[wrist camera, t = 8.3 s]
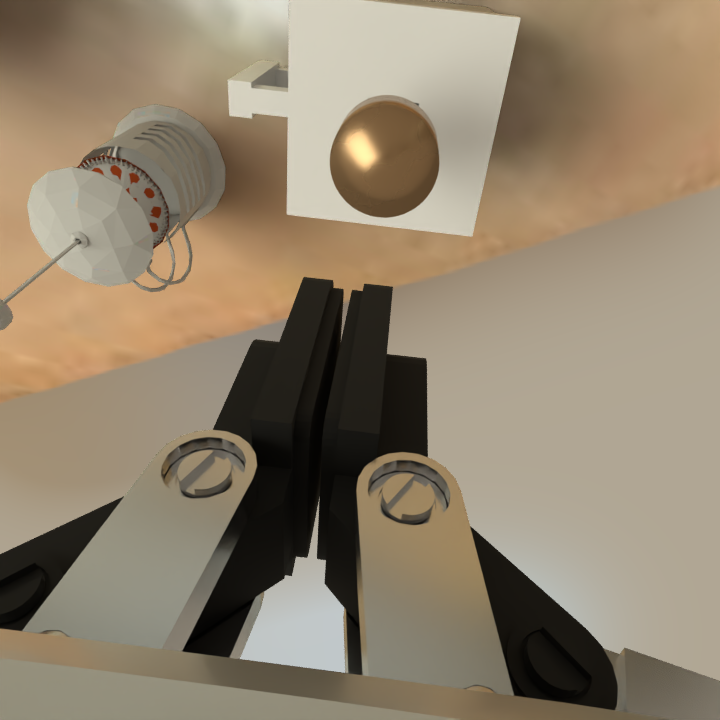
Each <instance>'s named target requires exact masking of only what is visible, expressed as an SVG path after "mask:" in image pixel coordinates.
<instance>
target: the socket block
mask: <svg viewBox="0 0 720 720" xmlns="http://www.w3.org/2000/svg"><path fill="white" fill-rule="evenodd" d="M520 19H521V18H520V17H518V16H513V15H504V14H497V13H495V12H494V11H492V10H491V9H489V8H488V7H482V6H473V5H464V4H455V3H446V2H437V1H428V0H289V56H288V68H285V67H279V62H274V61H265V60H259V61H257V62H256V63H254V64H253V65H251V66H249V67H248V68H246V69H244V70H243V71H241V72H239V73H238V74H236V75H235V76H233V77H231V78H230V79H228V97H229V116H235V117H244V118H253V117H254V116H255V115H256V114H263V115H272V116H281V117H288V147H287V215H294V216H302V217H311V218H319V219H328V220H336V221H345V222H353V223H361V224H370V225H378V226H387V227H395V228H404V229H412V230H421V231H429V232H437V233H446V234H454V235H463V236H471V237H472V235H473V231H474V226H475V222H476V217H477V213H478V208H479V204H480V199H481V195H482V190H483V186H484V181H485V177H486V172H487V168H488V163H489V159H490V154H491V150H492V145H493V141H494V136H495V132H496V127H497V123H498V118H499V114H500V109H501V105H502V100H503V96H504V91H505V87H506V82H507V78H508V73H509V69H510V64H511V60H512V55H513V51H514V46H515V42H516V37H517V33H518V28H519V24H520ZM379 95H395V96H400V97H403V98H406V99H408V100H410V101H412V102H414V103H415V104H416V105H418V106H419V107H420V108H421V109H422V110H423V111H424V112H425V113H426V114H427V115H428V117H429V118H430V120H431V122H432V124H433V126H434V128H435V131H436V135H437V141H438V149H439V172H438V176H437V180H436V182H435V185H434V187H433V189H432V191H431V192H430V194H429V195H428V197H427V198H426V199H425V200H424V201H423V202H422V203H421V204H420V205H419V206H417V207H416V208H415V209H413V210H411V211H410V212H407V213H405V214H403V215H400V216H395V217H388V218H381V217H373V216H369V215H366V214H364V213H362V212H359V211H358V210H356V209H354V208H353V207H352V206H350V205H349V204H348V203H347V202H346V201H345V200H344V199H343V198H342V196H341V195H340V194H339V192H338V190H337V189H336V187H335V185H334V182H333V180H332V176H331V171H330V152H331V148H332V144H333V141H334V139H335V136H336V134H337V132H338V130H339V128H340V126H341V124H342V122H343V120H344V119H345V117H346V116H347V115H348V113H349V112H350V111H351V110H352V109H353V108H354V107H355V106H357V105H358V104H359V103H361V102H363V101H364V100H366V99H369V98H371V97H375V96H379Z"/></svg>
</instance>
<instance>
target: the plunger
mask: <svg viewBox="0 0 720 720" xmlns="http://www.w3.org/2000/svg"><path fill="white" fill-rule="evenodd" d="M330 171H331V176H332V180H333V182H334V185H335V187H336V189H337V190H338V192H339V194H340V195H341V196H342V198H343V199H344V200H345V201H346V202H347V203H348V204H349V205H350V206H352V207H353V208H354V209H356V210H358V211H359V212H362V213H364V214H366V215H369V216H373V217H381V218H388V217H395V216H400V215H403V214H405V213H407V212H410V211H411V210H413V209H415V208H416V207H417V206H419V205H420V204H421V203H422V202H423V201H424V200H425V199H426V198H427V197H428V195H429V194H430V192H431V191H432V189H433V187H434V185H435V182H436V180H437V176H438V172H439V149H438V141H437V135H436V131H435V128H434V126H433V124H432V122H431V120H430V118H429V117H428V115H427V114H426V113H425V112H424V111H423V110H422V109H421V108H420V107H419V106H418V105H416V104H415V103H414V102H412V101H410V100H408V99H406V98H403V97H400V96H395V95H379V96H375V97H371V98H369V99H366V100H364V101H363V102H361V103H359V104H358V105H357V106H355V107H354V108H353V109H352V110H351V111H350V112H349V113H348V115H347V116H346V117H345V119H344V120H343V122H342V124H341V126H340V128H339V130H338V132H337V134H336V136H335V139H334V141H333V144H332V148H331V152H330Z"/></svg>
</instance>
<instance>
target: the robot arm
mask: <svg viewBox="0 0 720 720" xmlns="http://www.w3.org/2000/svg"><path fill="white" fill-rule="evenodd" d="M392 290H393V287H390V286H381V285H372V284H364V288H363V291H357V290H352V293H351V297H350V302H349V307H348V311H347V316H346V321H345V326H344V330H343V335H342V340H341V327H342V326H341V325H342V311H343V310H342V309H343V294H344V292H343V289H338V288H333V280H326V279H316V278H307V277H304V278H303V280H302V283H301V286H300V288H299V291H298V294H297V296H296V299H295V302H294V304H293V307H292V310H291V312H290V315H289V318H288V320H287V323H286V326H285V328H284V331H283V334H282V336H281V339H280V342H273V341H265V340H254V341H253V342H252V344H251V346H250V348H249V350H248V352H247V355H246V357H245V359H244V361H243V363H242V366H241V368H240V370H239V373H238V375H237V377H236V379H235V381H234V383H233V386H232V388H231V390H230V392H229V395H228V397H227V399H226V402H225V404H224V406H223V408H222V410H221V413H220V415H219V417H218V419H217V422H216V424H215V426H214V428H213V430H204V431H195V432H192V433H189V434H186V435H183V436H180V437H178V438H176V439H175V440H173V441H171V442H170V443H168V444H166V445H165V446H164V447H163V448H162V449H161V450H160V451H159V452H158V453H157V454H156V456H155V457H154V458H153V460H152V461H151V462H150V464H149V465H148V466H147V467H146V469H145V470H144V471H143V473H142V474H141V475H140V477H139V478H138V479H137V481H136V482H135V483H134V485H133V486H132V487H131V488H130V490H129V491H128V492H127V494H126V495H125V496H124V497H122V498H120V499H117V500H115V501H113V502H111V503H109V504H107V505H104V506H102V507H100V508H98V509H96V510H94V511H92V512H90V513H88V514H85V515H83V516H81V517H79V518H77V519H75V520H72V521H70V522H68V523H66V524H64V525H62V526H60V527H58V528H55V529H53V530H51V531H49V532H47V533H45V534H43V535H40V536H38V537H36V538H34V539H32V540H30V541H28V542H26V543H23V544H21V545H19V546H17V547H15V548H13V549H11V550H9V551H6V552H4V553H2V554H0V720H720V681H718V680H716V679H713V678H710V677H707V676H704V675H701V674H698V673H696V672H693V671H690V670H687V669H684V668H681V667H678V666H675V665H673V664H670V663H667V662H664V661H661V660H658V659H656V658H653V657H650V656H647V655H644V654H641V653H638V652H635V651H633V650H630V649H627V648H624V649H623V650H622V652H621V653H620V654H618V653H615V652H612V651H609V650H606V649H604V648H603V647H602V646H601V645H600V644H599V642H598V641H597V640H596V639H595V638H594V637H593V636H592V635H591V634H590V632H589V631H588V630H587V629H586V628H585V627H583V626H582V625H581V624H580V623H579V622H578V621H577V620H576V619H574V618H573V617H572V616H571V615H570V614H569V613H568V612H567V611H565V610H564V609H563V608H562V607H561V606H560V605H559V604H558V603H556V602H555V601H554V600H553V599H552V598H551V597H550V596H548V595H547V594H546V593H545V592H544V591H543V590H542V589H541V588H539V587H538V586H537V585H536V584H535V583H534V582H533V581H532V580H530V579H529V578H528V577H527V576H526V575H525V574H524V573H523V572H521V571H520V570H519V569H518V568H517V567H516V566H515V565H513V564H512V563H511V562H510V561H509V560H508V559H507V558H506V557H504V556H503V555H502V554H501V553H500V552H499V551H498V550H497V549H495V548H494V547H493V546H492V545H491V544H490V543H489V542H488V541H486V540H485V539H484V538H483V537H482V536H481V535H480V534H479V533H477V532H476V531H475V530H474V529H473V528H472V527H471V526H470V524H469V520H468V516H467V513H466V509H465V505H464V501H463V497H462V493H461V490H460V488H459V486H458V483H457V481H456V479H455V478H454V476H453V475H452V474H451V473H450V472H449V471H448V470H447V469H446V468H445V467H444V466H442V465H441V464H439V463H438V462H436V461H435V460H433V459H430V458H428V450H427V449H428V445H427V443H428V440H427V361H426V359H425V358H417V357H408V356H399V355H389V354H387V345H388V333H389V323H390V312H391V301H392ZM340 343H341V344H340ZM319 496H320V502H319V524H318V525H319V526H318V546H317V559H321V560H326V570H325V584H326V586H327V587H328V588H329V589H330V591H331V592H332V593H333V594H334V595H335V597H336V598H337V599H338V600H339V602H340V603H341V604H342V605H343V606H344V617H343V618H344V647H345V673H341V672H334V671H326V670H318V669H311V668H303V667H295V666H288V665H280V664H273V663H265V662H257V661H250V660H242V659H240V657H241V654H242V652H243V649H244V647H245V645H246V642H247V640H248V637H249V635H250V633H251V630H252V628H253V625H254V623H255V620H256V618H257V616H258V613H259V611H260V608H261V605H262V601H263V597H264V591H266V590H267V589H269V588H270V587H272V586H273V585H275V584H276V583H278V582H279V581H281V580H282V579H284V576H285V575H289V576H292V573H293V568H294V563H295V558H296V556H297V557H306V558H307V556H308V553H309V548H310V543H311V537H312V532H313V527H314V522H315V517H316V511H317V506H318V501H319Z"/></svg>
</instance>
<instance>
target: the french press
mask: <svg viewBox="0 0 720 720" xmlns="http://www.w3.org/2000/svg"><path fill="white" fill-rule="evenodd" d="M110 148H111V151H110V154H109V156H107V152H108V149H110ZM102 153H104V154H103V155H102V156H100V154H102ZM225 170H226V167H225V164H224V161H223V158H222V156H221V153H220V150H219V147H218V144H217V143H216V141H215V140H214V139H213V138H212V136H211V135H210V134H209V133H208V131H207V130H206V129H205V127H204V126H203V125H202V124H201V123H200V122H198V121H197V120H195V119H194V118H192V117H191V116H189V115H188V114H186V113H185V112H183V111H181V110H180V109H177V108H172V107H167V106H162V105H158V104H153V105H149V106H145V107H140V108H136V109H133V110H132V111H131V112H130V113H129V114H128V115H127V116H126V117H124V118H123V119H122V120H121V121H120V122H119V123H118V125H117V128H116V131H115V134H114V137H113V139H111V140H110V141H108V142H106V143H104V144H103V145H101V146H99V147H98V148H96V149H94V150H93V151H92V152H90V153H89V154H88V155H87V156H85V157H84V158H83V160H82V162H81V163H80V165H79V166H78V167H69V168H63V169H58V170H53V171H49V172H48V173H46V174H45V175H44V176H43V177H42V178H40V179H39V180H38V181H37V182H36V183H34V184H33V187H32V190H31V193H30V197H29V200H28V204H27V208H28V214H29V219H30V225H31V229H32V231H33V233H34V234H35V236H36V238H37V240H38V242H39V243H40V245H41V247H42V249H43V250H44V252H45V253H47V254H48V255H49V256H50V257H51V258H52V259H53V260H52V261H50V262H49V263H48V264H47V265H45V266H44V267H43V268H42V269H41V270H39V271H38V272H37V273H36V274H34V275H33V276H32V277H31V278H29V279H28V280H27V281H26V282H25V283H23V284H22V285H21V286H20V287H18V288H17V289H16V290H15V291H14V292H12V293H11V294H10V295H9V296H7V297H6V298H5V299H4V300H3V301H2V300H1V299H0V330H3V329H5V328H6V327H7V326H8V325H9V324H10V323H11V322H12V319H13V315H12V311H11V310H10V308H9V307H8V305H7V304H6V303H7V302H8V301H10V300H11V299H12V298H13V297H15V296H16V295H17V294H18V293H19V292H21V291H22V290H23V289H24V288H25V287H27V286H28V285H29V284H30V283H31V282H33V281H34V280H35V279H36V278H37V277H39V276H40V275H41V274H42V273H43V272H45V271H46V270H47V269H48V268H49V267H51V266H52V265H53V264H54V263H55V262H56V263H57V264H58V265H59V266H60V267H61V268H62V269H63V270H65V271H67V272H69V273H70V274H72V275H74V276H76V277H78V278H79V279H81V280H83V281H85V282H89V283H94V284H99V285H103V286H108V287H109V286H115V285H121V284H127V283H130V282H132V283H134V284H135V285H136V286H138V287H139V288H140V289H143V290H146V291H149V292H157V291H161V290H164V289H165V288H166V287H167V286H168V284H169V285H172V284H178V283H181V282H183V281H184V280H185V279H186V277H187V275H188V274H189V272H190V270H191V264H192V250H191V244H190V241H189V238H188V235H187V233H186V230H185V225H186V224H187V223H188V221H191V220H197V219H201V218H202V217H204V216H205V215H206V214H208V213H209V212H210V211H212V210H213V209H214V208H216V206H217V204H218V202H219V200H220V198H221V196H222V194H223V192H224V190H225ZM178 222H179V224H178V226H177V228H176V230H175V231H174V232H173V233H172V234H171V235H170V236H168V233H169V232H170V231H171V230H172V229H173V228H174V226H175V225H176V224H177V223H178ZM180 228H182V231H183V234H184V237H185V240H186V243H187V247H188V252H189V265H188V268H187V271H186V273H185V274H184V275H183V277H182V278H181V279H179V280H177V281H172V279H173V275H174V269H175V256H174V250H173V247H172V244H171V242H170V238H171V237H173V235H174V234H175V233H176V232H177V231H178V230H179V229H180ZM165 236H166V239H167V240H166V241H167V242H168V246H169V249H170V252H171V257H172V261H173V263H172V270H171V274H170V277H169V279H168V280H164V279H161V278H159V277H158V276H157V275H156V274H154V273H153V272H152V271H151V269H150V264H151V263H152V259H151V258H152V256H153V249H154V248H155V247H156V246H158V245H159V244H160V243H162V242H163V240H164V237H165ZM166 241H165V242H166ZM146 269H147V272H148V273H149V274H150V275H151V276H153V277H154V278H155V279H157V280H158V281H159V282H162V283H165V284H164V285H163V286H161V287H159V288H148V287H145V286H141V285H140V284H139V283H137V282H136V281H135V280H134V279H136V278H137V277H138V276H140V275H141V274H143V273H144V272H145V270H146Z"/></svg>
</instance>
